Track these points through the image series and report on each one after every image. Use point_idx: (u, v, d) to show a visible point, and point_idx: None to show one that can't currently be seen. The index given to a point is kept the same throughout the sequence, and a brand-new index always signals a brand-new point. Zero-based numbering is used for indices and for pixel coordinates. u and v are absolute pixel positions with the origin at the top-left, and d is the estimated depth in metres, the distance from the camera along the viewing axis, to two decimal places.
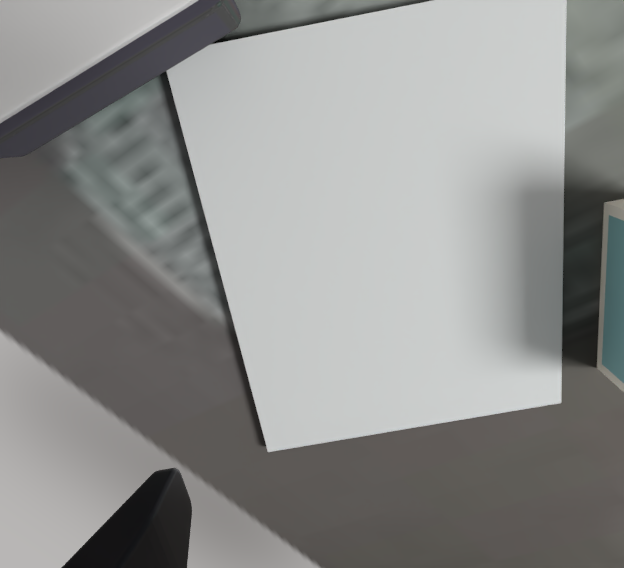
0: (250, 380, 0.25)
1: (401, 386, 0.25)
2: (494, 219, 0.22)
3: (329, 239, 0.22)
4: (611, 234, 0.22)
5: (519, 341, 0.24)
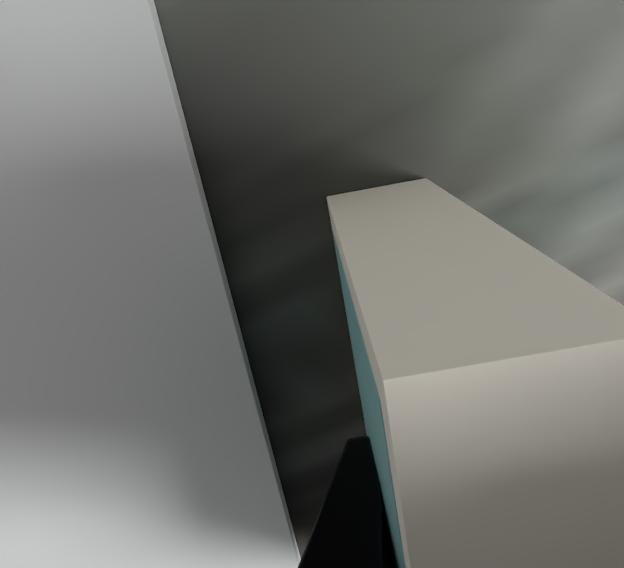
0: None
1: None
2: (25, 242, 0.08)
3: None
4: (341, 281, 0.08)
5: (185, 514, 0.11)
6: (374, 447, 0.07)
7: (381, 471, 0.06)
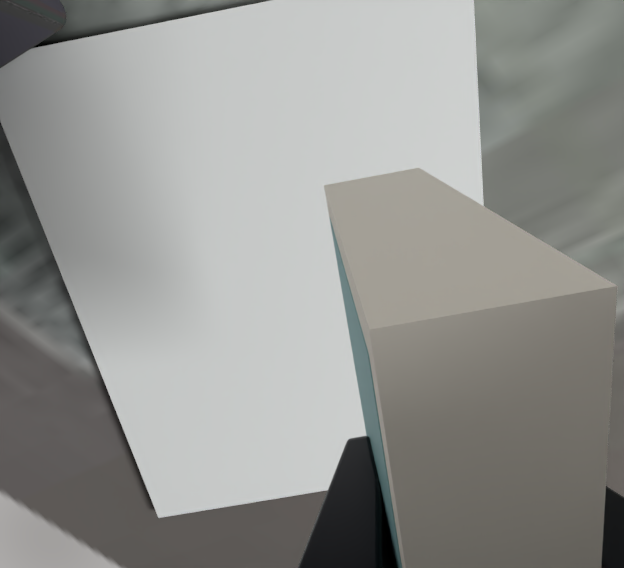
0: (129, 439, 0.21)
1: (307, 445, 0.22)
2: None
3: (206, 280, 0.19)
4: (338, 266, 0.09)
5: None
6: (368, 418, 0.07)
7: (374, 436, 0.06)
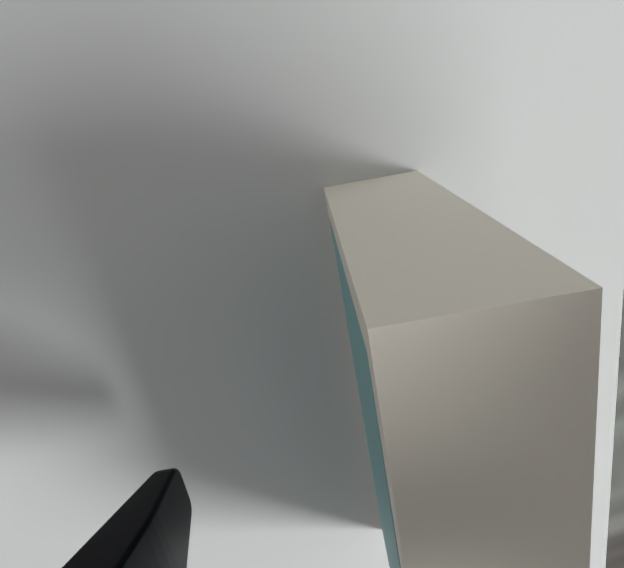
0: None
1: None
2: None
3: (147, 411, 0.11)
4: (337, 266, 0.09)
5: None
6: (367, 415, 0.07)
7: (372, 432, 0.06)
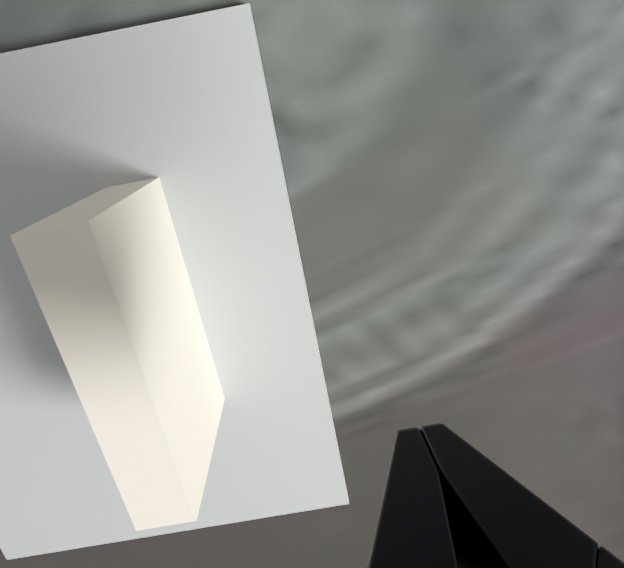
0: None
1: None
2: (221, 299, 0.18)
3: (20, 324, 0.18)
4: None
5: (283, 437, 0.20)
6: None
7: None
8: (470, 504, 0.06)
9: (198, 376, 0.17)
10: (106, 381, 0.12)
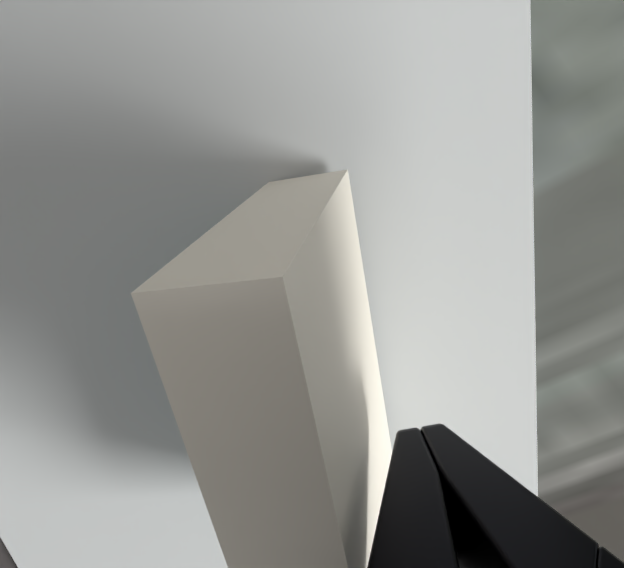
0: None
1: None
2: (412, 343, 0.13)
3: (123, 379, 0.13)
4: None
5: None
6: None
7: None
8: (470, 504, 0.06)
9: (382, 478, 0.11)
10: (275, 548, 0.07)
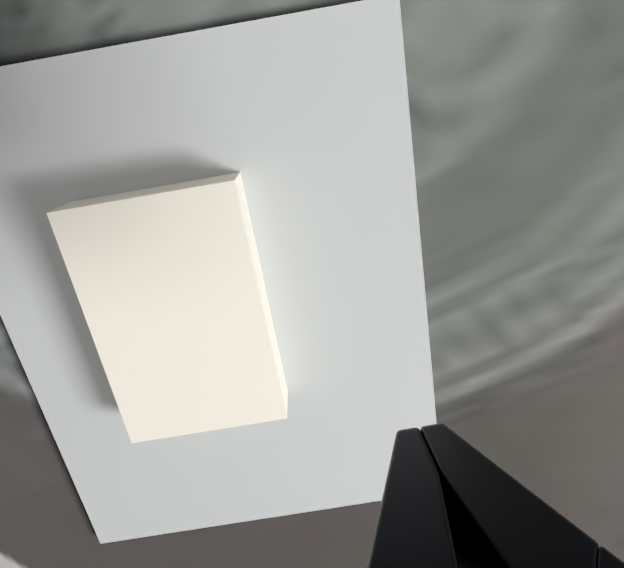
0: (68, 465, 0.21)
1: (250, 472, 0.21)
2: (340, 285, 0.18)
3: None
4: None
5: (385, 423, 0.21)
6: None
7: None
8: (470, 504, 0.06)
9: (215, 372, 0.17)
10: None
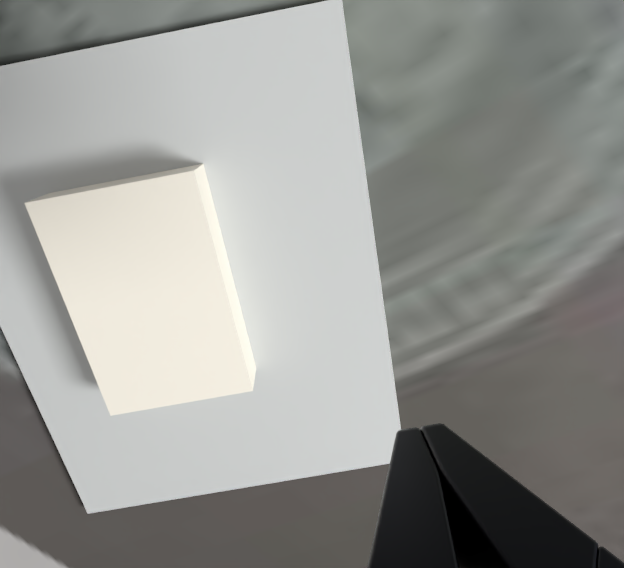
0: (54, 439, 0.23)
1: (224, 444, 0.23)
2: (300, 267, 0.20)
3: None
4: None
5: (348, 396, 0.22)
6: None
7: None
8: (470, 504, 0.06)
9: (184, 348, 0.19)
10: None
